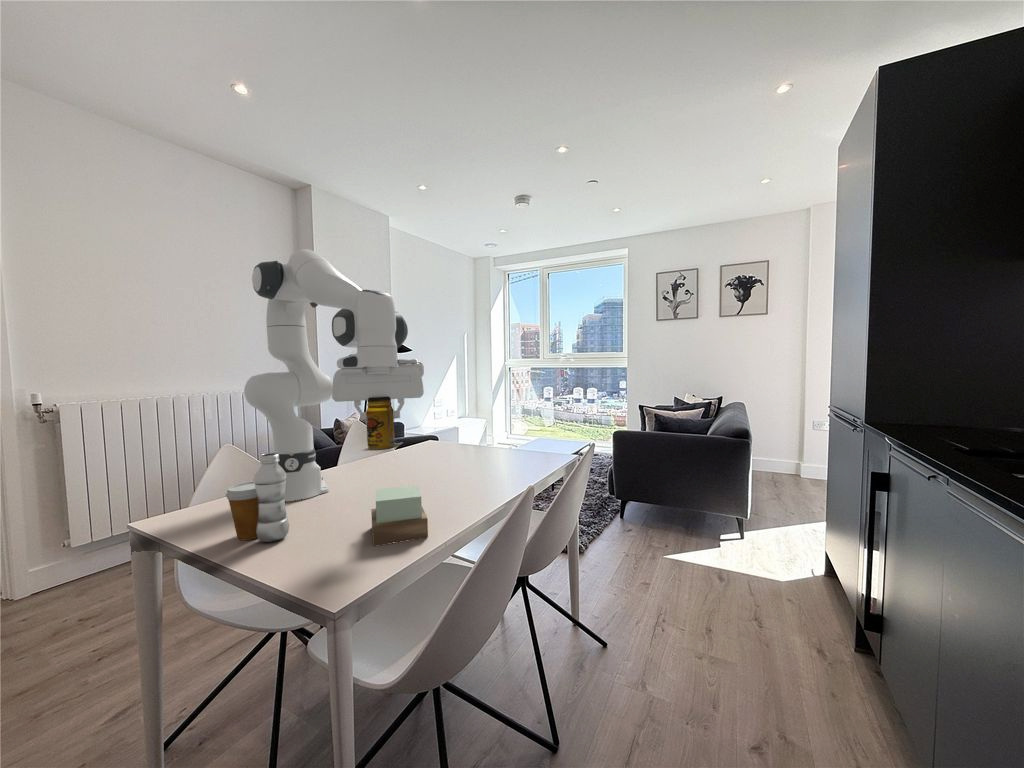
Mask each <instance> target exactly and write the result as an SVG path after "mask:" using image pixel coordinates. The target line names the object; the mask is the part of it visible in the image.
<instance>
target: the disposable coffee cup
mask: <svg viewBox="0 0 1024 768" xmlns="http://www.w3.org/2000/svg"><path fill="white" fill-rule="evenodd" d="M225 497H226V499H227V500H228V503H229V508H230V512H231V515H232V516H231V517H232V520H233V524H234V530H235V534H236V537H237V540H239V541H250V540H254V539H255V540H256V539H258V538H257V534H256V527H257V522H258V501H257V494H256V489H255V484H254V480H253V481H248V482H243V483H238V484H235V485H233V486H230V487H228V488H227V491H226V494H225Z"/></svg>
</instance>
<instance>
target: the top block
mask: <svg viewBox="0 0 1024 768" xmlns="http://www.w3.org/2000/svg"><path fill="white" fill-rule="evenodd" d="M419 487H420V486H419V485H418V484H416V485H414V484H413V485H406V486H405V485H404V486H395V487H386V488H385V487H383V488H377V489H376V493H375V494H376V495H375V509H376V522H377V523H384V522H392V521H400V520H408V519H416V518H422V507H423V506H422V494H421V491H420V488H419Z"/></svg>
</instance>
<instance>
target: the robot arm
mask: <svg viewBox="0 0 1024 768" xmlns="http://www.w3.org/2000/svg"><path fill="white" fill-rule="evenodd" d="M251 282H252V283H251V284H252V288H253V289H254V292H255V293H256V294H257V296H259V297H261V298H264V299H268V301H267V307H266V315H265V316H266V321H265V322H266V335H267V336H266V337H267V338H266V339H267V349H268V352H269V354H270V355H271V356H272V357H273V358H275V359H277V360H278V361H280V362H282V363H283V364H285V366H286V368H287V370H288V371H287V372H286V371H285V372H284V371H283V372H282V371H281V372H266V373H265V372H264V373H261V374H256V375H252V376H251V377H249V378H248V379H247V381H246V382H245V384H244V385H245V386H244V391H243V393H244V394H243V395H244V397H245V400H246V402H247V403H248V404H249V405H250V406H251V407H252V408H254V409H256V410H258V411H259V412H260V413H261V414H262V415H263V416H264V417H265V418H266V420H267V421H268V423H269V426H270V428H271V432H272V439H273V440H272V441H273V453H279V459H280V461H279V462H278V464H279V465H280V466H281V467H282V468H283V470H284V471H285V473H286V486H285V498H284V499H285V501H286V502H295V500H296V501H301V499H302V500H305V499H310V498H313V497H315V496H318V495H321V494H325V493H328V492H329V491H330V490H329V487H328V485H327V482H325V480H324V478H323V476H322V473H321V472H322V471H321V466H319V465H320V464H317V462H316V458H317V457H316V455H317V453H316V449H315V447H314V428H313V426H312V424H311V423H310V422H309V421H308V420H306V419H303V418H301V417H299V416H297V415H296V411H295V408H298V407H307V406H316V405H319V404H322V403H326V402H327V401H329V400H330V399H331V398H332V400H333V401H334V402H335V403H336V402H337V403H341V402H353V405H354V408H355V409H356V410H357V412H358V413H359V421H362V422H363V421H367V420H366V411H363V410H362V409H361V407H360V406H362V401H367V400H368V398H373V397H390V399H391V400H397V403H398V407H397V409H396V410H393V415H394V420H395V419H401V410H402V408H403V407H404V404H405V399H420V398H422V397H423V395H424V394H425V393H424V384H423V383H424V382H423V376H424V373H425V370H424V367H425V366H424V364H423V363H422V362H421V361H419V360H417V359H415V358H414V359H413V358H412V359H398V349H399V348H400V347H401V346H402V345H403V344H404V343H405V341H406V340H407V338H408V334H409V333H408V332H409V330H408V329H409V328H408V324H407V322H406V320H405V319H404V317H403V316H402V313H400V312H398V311H396V309H395V303H394V299H393V297H392V295H391V294H390V293H389V292H386V291H380V290H371V289H364V288H362V286H360V285H358V284H356V283H355V282H353V281H352V280H350V279H349V278H348V277H347V276H345V275H343V274H342V273H341V272H339V270H337V269H336V268H335V266H333V265H332V263H331V262H329V261H328V260H327V259H326V258H325V257H324V256H322V255H321V254H319V253H318V252H316V251H315V250H312V249H307V248H303V249H302V248H301V249H298V250H296V251H294V252H293V253H292V254H291V255H290V257H289V259H288V263H286V262H279V261H278V260H274V261H273V260H272V261H263V262H260V263H258V264H257V265H255V266H254V268H253V271H252V276H251ZM309 304H310V306H311V307H312V309H313V308H314V309H315V308H317V307H318V306H323V307H330V308H334V309H335V308H336V309H339V310H338V311H337V312H336V313H335V314H334V316H333V317H332V318H331V319H332V320H331V333H332V336H333V338H334V340H335V341H336V343H338V345H341V346H342V347H346V348H351V349H352V348H356V349H357V350H356V351H357V352H356V353H353V354H352V353H351V354H349V355H346V356H344V357H341V358H338V359H337V360H336V367H337V368H338V369H337V370H336V371H335V373H333V374H334V375H333V379H331V378H330V377H329V375H328V374H326V373H325V372H324V371H322V370H321V369H320V368H319V366H317V364H316V363H315V361H314V359H313V358H312V355H311V352H310V349H309V347H310V346H309V341H308V340H309V339H308V331H307V320H306V314H305V313H306V307H308V305H309Z"/></svg>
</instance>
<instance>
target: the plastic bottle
mask: <svg viewBox="0 0 1024 768" xmlns="http://www.w3.org/2000/svg"><path fill="white" fill-rule="evenodd" d="M279 461H280V459H279V453H274V452H271V453H269V452H268V453H264V454H261V455H260V461H259V465H260V464H261V466H260V467H259V468H258V470H257V471H256V473H255V474H254V477H253V481H254V484H255V489H256V494H257V501H258V522H257V527H256V534H257V538H256V539H258V540H259V541H260V542H263V543H270V542H271V543H272V542H276V541H279V540H281V539H284V538H286V536H287V535H288V533H289V531H290V523H289V519H288V517H287V509H286V502H285V499H284V498H285V486H286V473H285V471H284V470H283V468H282V467H281V466H280V465H279V464H278V462H279Z"/></svg>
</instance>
